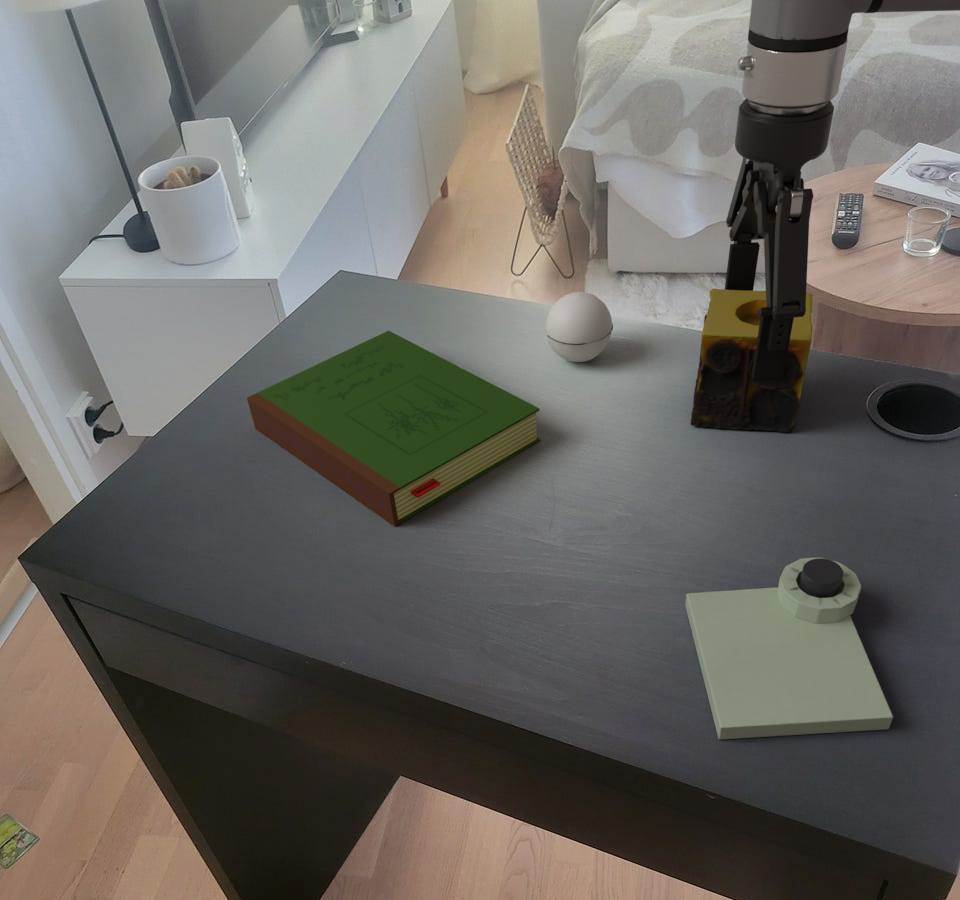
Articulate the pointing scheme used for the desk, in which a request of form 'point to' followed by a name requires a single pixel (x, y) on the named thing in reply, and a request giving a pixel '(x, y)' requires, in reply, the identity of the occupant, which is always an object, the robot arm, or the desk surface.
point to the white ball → (579, 327)
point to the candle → (746, 367)
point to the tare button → (821, 578)
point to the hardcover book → (394, 424)
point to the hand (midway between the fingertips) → (750, 341)
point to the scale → (785, 660)
